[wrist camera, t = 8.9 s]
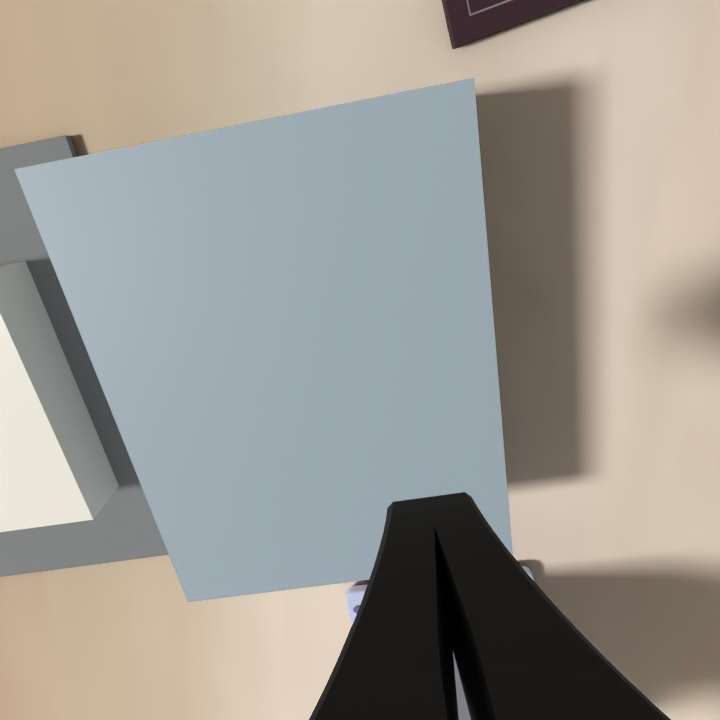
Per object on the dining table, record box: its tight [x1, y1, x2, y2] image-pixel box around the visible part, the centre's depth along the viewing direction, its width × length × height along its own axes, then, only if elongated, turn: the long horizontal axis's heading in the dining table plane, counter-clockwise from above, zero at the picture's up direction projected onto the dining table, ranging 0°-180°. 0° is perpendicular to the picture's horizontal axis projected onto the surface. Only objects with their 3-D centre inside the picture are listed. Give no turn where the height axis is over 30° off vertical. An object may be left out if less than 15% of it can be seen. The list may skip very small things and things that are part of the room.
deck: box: [14, 78, 513, 602], centre depth 16 cm, size 14×11×4 cm
